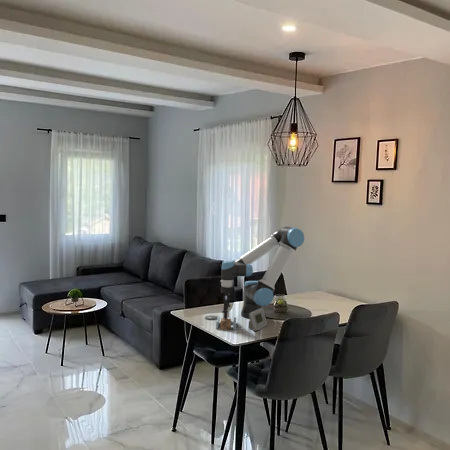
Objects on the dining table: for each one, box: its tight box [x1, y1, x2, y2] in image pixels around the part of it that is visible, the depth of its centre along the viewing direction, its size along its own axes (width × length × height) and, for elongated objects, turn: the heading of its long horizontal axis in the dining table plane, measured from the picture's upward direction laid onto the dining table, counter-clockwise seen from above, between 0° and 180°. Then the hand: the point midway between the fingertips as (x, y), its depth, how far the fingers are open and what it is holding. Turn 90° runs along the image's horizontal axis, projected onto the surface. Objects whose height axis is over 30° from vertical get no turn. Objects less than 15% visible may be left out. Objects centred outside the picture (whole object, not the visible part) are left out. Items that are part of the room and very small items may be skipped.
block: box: [219, 317, 232, 331], centre depth 273 cm, size 6×6×5 cm
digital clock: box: [248, 308, 268, 332], centre depth 275 cm, size 16×9×11 cm, turn 138°
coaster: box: [204, 315, 219, 321], centre depth 295 cm, size 9×9×1 cm
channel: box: [215, 316, 237, 330], centre depth 277 cm, size 11×12×4 cm
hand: (226, 320), depth 283 cm, fingers open, 13 cm apart
